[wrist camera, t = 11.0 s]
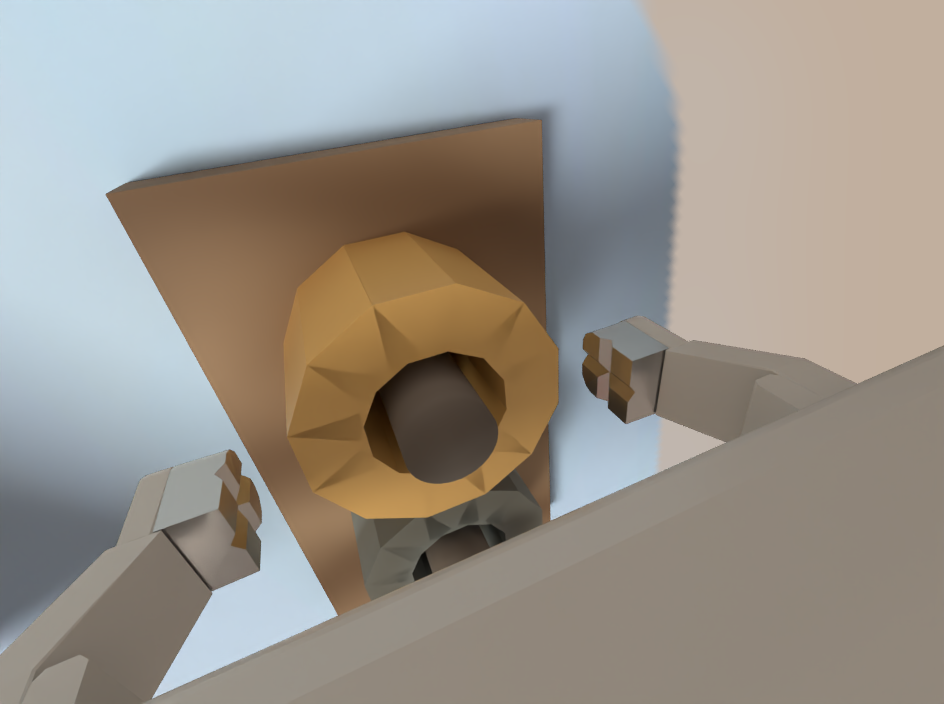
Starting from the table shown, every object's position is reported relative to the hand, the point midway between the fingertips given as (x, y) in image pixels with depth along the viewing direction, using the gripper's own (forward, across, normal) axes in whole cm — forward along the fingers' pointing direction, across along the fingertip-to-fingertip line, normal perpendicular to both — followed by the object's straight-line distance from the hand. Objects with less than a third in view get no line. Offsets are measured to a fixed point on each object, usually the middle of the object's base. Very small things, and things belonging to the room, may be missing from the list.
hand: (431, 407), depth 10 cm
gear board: (+5, 0, -4) cm, 6 cm away
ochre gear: (+4, 0, 0) cm, 4 cm away
